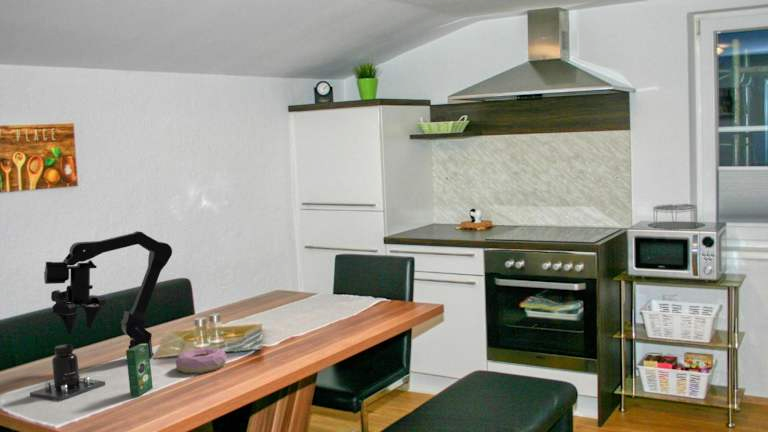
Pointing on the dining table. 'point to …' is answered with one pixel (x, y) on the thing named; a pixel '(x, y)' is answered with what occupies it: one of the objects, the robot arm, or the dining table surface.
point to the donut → (201, 360)
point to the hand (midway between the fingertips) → (79, 331)
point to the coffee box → (139, 369)
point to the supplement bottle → (65, 367)
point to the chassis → (66, 389)
